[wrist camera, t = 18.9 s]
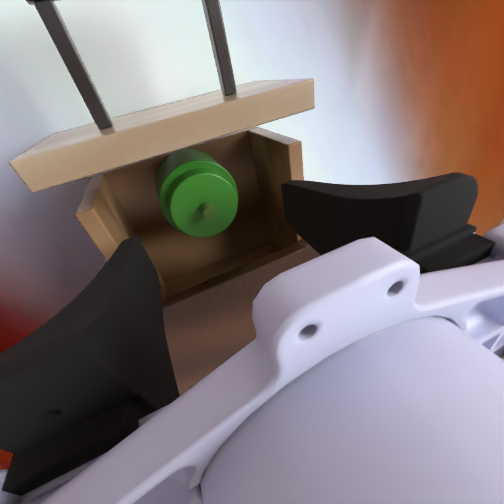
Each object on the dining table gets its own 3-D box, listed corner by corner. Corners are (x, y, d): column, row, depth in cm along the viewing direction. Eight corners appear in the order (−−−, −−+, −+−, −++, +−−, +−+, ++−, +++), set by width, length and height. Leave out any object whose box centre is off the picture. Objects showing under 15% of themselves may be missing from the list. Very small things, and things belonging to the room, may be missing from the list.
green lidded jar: (230, 203, 19) (256, 233, 15) (171, 224, 18) (182, 262, 14) (213, 139, 16) (239, 156, 12) (142, 161, 15) (147, 187, 11)
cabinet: (118, 246, 20) (112, 329, 13) (274, 190, 22) (335, 235, 16) (180, 343, 28) (196, 425, 21) (289, 294, 30) (333, 352, 24)
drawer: (-33, -4, 11) (-192, -92, 5) (236, -45, 13) (307, -132, 8) (150, 288, 22) (156, 353, 16) (278, 236, 24) (320, 278, 19)
